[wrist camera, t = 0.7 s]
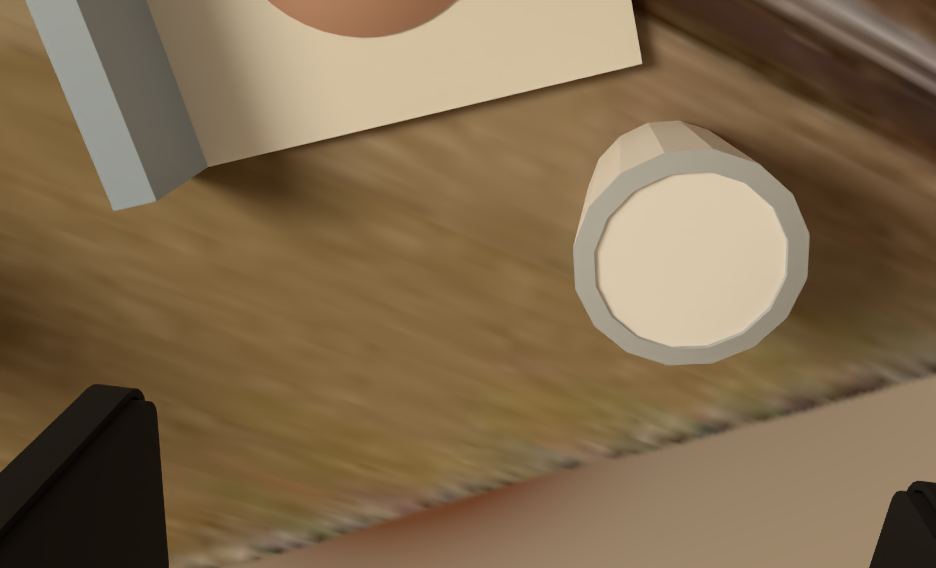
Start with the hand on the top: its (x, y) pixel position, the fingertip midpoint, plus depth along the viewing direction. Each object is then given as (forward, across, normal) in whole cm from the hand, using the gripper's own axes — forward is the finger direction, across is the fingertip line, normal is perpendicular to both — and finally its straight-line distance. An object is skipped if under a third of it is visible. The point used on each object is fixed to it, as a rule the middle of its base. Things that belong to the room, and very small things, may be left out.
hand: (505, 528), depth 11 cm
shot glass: (+22, -5, +2) cm, 23 cm away
